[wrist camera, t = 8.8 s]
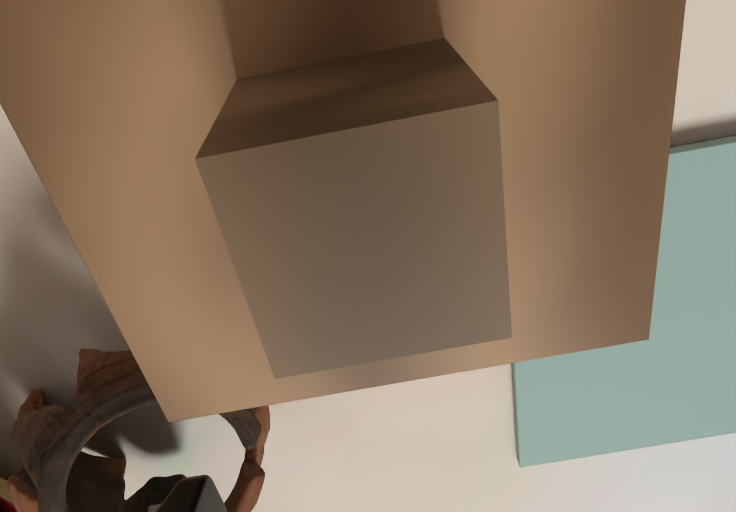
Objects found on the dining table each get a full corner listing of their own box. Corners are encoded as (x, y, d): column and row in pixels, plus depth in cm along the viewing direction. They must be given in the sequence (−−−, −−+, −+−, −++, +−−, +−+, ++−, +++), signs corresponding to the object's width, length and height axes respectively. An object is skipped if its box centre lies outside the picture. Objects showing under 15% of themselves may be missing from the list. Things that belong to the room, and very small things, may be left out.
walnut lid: (693, -332, 9) (1007, -536, 5) (635, 320, 16) (742, 468, 12) (-104, -153, 9) (-437, -196, 5) (175, 400, 16) (123, 567, 12)
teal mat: (946, 96, 19) (960, 100, 19) (832, 407, 27) (840, 415, 27) (501, 178, 20) (504, 184, 19) (517, 458, 28) (520, 467, 27)
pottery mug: (-20, 332, 23) (-54, 425, 16) (215, 267, 27) (273, 319, 19) (70, 570, 26) (75, 736, 19) (265, 482, 30) (330, 592, 23)
